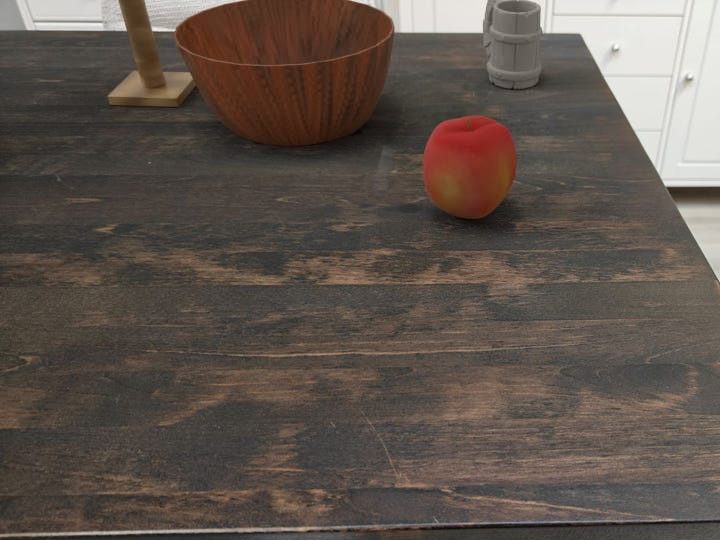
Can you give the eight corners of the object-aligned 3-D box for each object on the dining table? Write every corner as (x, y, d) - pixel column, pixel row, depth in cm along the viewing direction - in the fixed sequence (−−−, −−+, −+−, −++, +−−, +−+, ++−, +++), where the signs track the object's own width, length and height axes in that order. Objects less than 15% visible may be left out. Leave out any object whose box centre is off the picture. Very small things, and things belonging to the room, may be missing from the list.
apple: (533, 213, 78) (540, 121, 71) (468, 247, 73) (470, 152, 66) (468, 181, 83) (470, 92, 76) (404, 211, 78) (399, 119, 71)
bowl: (193, 94, 99) (171, 3, 92) (376, 76, 106) (370, -11, 98) (201, 180, 82) (175, 76, 74) (421, 152, 88) (418, 53, 80)
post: (109, 105, 96) (66, -32, 86) (135, 79, 103) (98, -51, 92) (178, 107, 96) (144, -30, 86) (200, 81, 103) (170, -49, 92)
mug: (505, 94, 102) (509, 0, 94) (462, 66, 109) (463, -23, 101) (551, 84, 105) (558, -8, 97) (506, 57, 112) (510, -30, 104)
